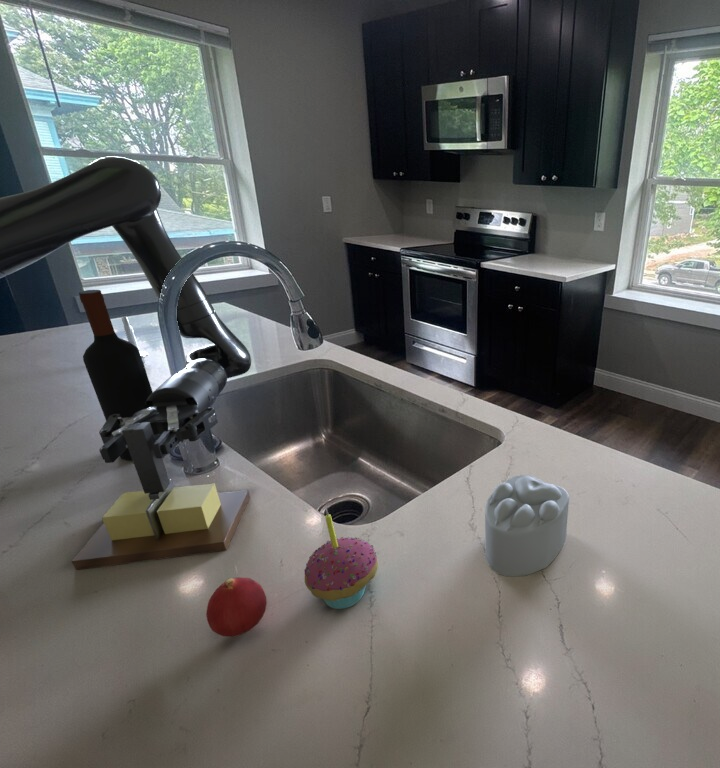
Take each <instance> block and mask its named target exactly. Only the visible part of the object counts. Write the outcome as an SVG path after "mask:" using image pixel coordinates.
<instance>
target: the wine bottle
mask: <svg viewBox="0 0 720 768" xmlns="http://www.w3.org/2000/svg"><path fill="white" fill-rule="evenodd" d="M78 296H79V299H80V303H81V304H82V306H83V310H84V312H85V314H86V318H87V320H88V324H89V326H90V328H91V331H92V334H93V342H92V343H91V344H89V346H87V348H86V349H85V350H84V353H83V355H82V360H83V364H84V366H85V368H86V371H87V375H88V376H89V379H90V382H91V384H92V387H93V391H94V392H95V395H96V397H97V400H98V402H99V406H100V409H101V410H102V414H103V416H104V420H105V422H106V421H107V419H108V418H109V416H111V415H113V414H120V416H121V417H122V418H127V417H133V415H134V414H135V413H136V412H139V411H141V410H143V408H144V406H145V403H146V401H147V399H148V397H149V396H150V395H151V394H152V393H153V392H154V391H153V389H152V386H151V382H150V380H149V376H148V373H147V370H146V368H145V364H144V363H143V361H142V358H141V354H140V352H141V351H140V349H139V350H138V348H139V347H138V348H137V347H136V346H135V345H133V344H132V343H131V342H129V341H128V340H127V339H123V338H121V337H120V336H118V335H117V333H116V332H115V331H116V330H115V329H114V325H113V323H112V320H111V317H110V314H109V311H108V309H107V305H106V301H105V298H104V294H103V293H102V290H101V289H87V290H81V291H78ZM161 435H162V434H159V435H154V437H155V440H157V439H158V438H159V437H160V436H161ZM119 458H120V459H121V460H124V461H128V462H129V461H130V462H133V460H132V458H131V455H130V452H129V449H128V447H127V449H126V450H125V451H124V452H123V453H122V454H121V455H120V456H119Z"/></svg>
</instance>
